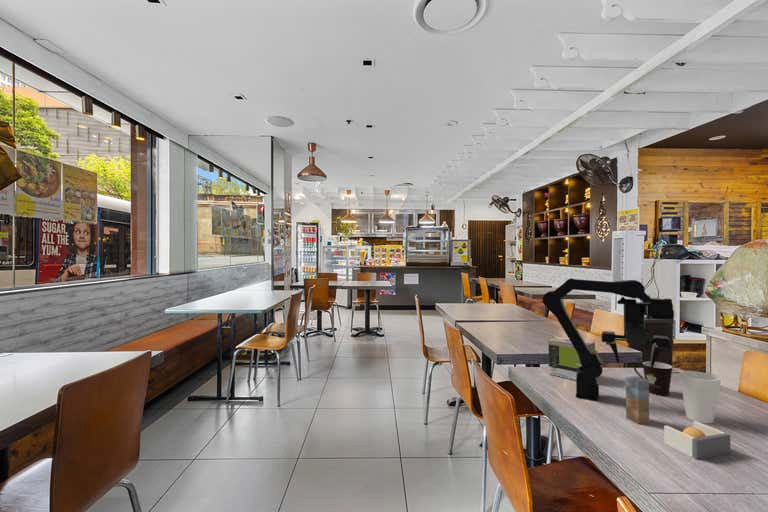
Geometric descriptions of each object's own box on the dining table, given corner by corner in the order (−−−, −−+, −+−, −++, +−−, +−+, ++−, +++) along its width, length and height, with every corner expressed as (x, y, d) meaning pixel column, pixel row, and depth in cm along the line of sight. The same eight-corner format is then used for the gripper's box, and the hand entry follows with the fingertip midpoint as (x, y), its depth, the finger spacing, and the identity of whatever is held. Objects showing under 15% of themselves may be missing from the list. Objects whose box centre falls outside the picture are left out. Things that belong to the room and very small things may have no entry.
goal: (664, 443, 96) (664, 425, 96) (696, 437, 99) (695, 421, 99) (696, 459, 89) (696, 440, 89) (730, 453, 91) (730, 434, 91)
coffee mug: (679, 397, 128) (678, 368, 128) (653, 397, 128) (653, 368, 128) (655, 385, 139) (654, 359, 139) (632, 385, 139) (631, 359, 139)
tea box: (596, 378, 148) (595, 341, 148) (586, 383, 142) (586, 345, 142) (558, 369, 160) (558, 335, 160) (547, 374, 153) (547, 339, 153)
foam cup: (711, 428, 105) (710, 382, 105) (673, 415, 113) (673, 373, 113) (726, 421, 109) (726, 377, 109) (689, 409, 117) (688, 369, 117)
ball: (684, 431, 93) (682, 449, 94) (710, 438, 90) (708, 456, 91) (681, 420, 97) (679, 437, 98) (706, 426, 94) (704, 444, 95)
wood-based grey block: (626, 418, 111) (625, 377, 111) (636, 416, 112) (636, 375, 112) (638, 424, 107) (637, 381, 107) (649, 422, 108) (648, 380, 108)
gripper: (601, 319, 120) (601, 367, 119) (673, 324, 110) (674, 376, 110) (601, 314, 129) (601, 359, 129) (668, 318, 120) (668, 366, 119)
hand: (634, 365), depth 122 cm, fingers open, 9 cm apart
